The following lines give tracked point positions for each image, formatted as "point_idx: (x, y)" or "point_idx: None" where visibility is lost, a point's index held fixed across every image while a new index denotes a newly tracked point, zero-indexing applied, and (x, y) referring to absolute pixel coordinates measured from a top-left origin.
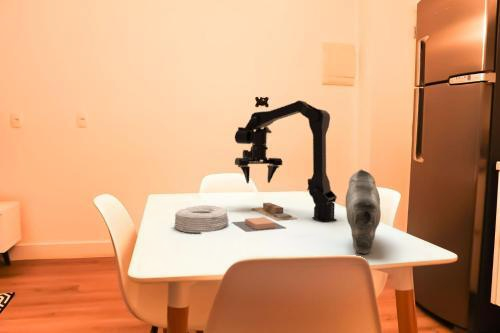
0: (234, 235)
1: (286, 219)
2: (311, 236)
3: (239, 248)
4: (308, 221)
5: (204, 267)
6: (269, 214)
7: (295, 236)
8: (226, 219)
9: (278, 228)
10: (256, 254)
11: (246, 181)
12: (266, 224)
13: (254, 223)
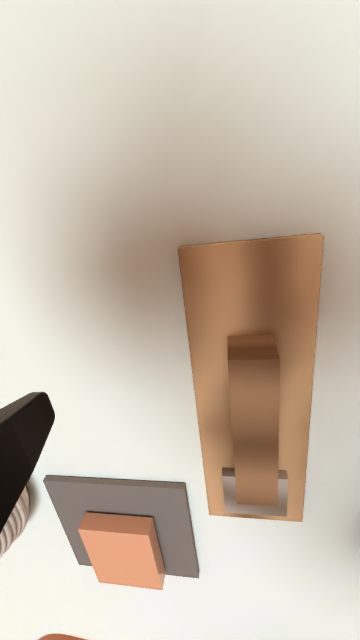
0: (52, 557)
1: (249, 517)
2: (232, 619)
3: (58, 609)
4: (336, 530)
5: (9, 634)
6: (220, 431)
7: (194, 607)
8: (14, 538)
9: (172, 572)
10: (84, 634)
11: (15, 409)
12: (132, 583)
13: (97, 575)
